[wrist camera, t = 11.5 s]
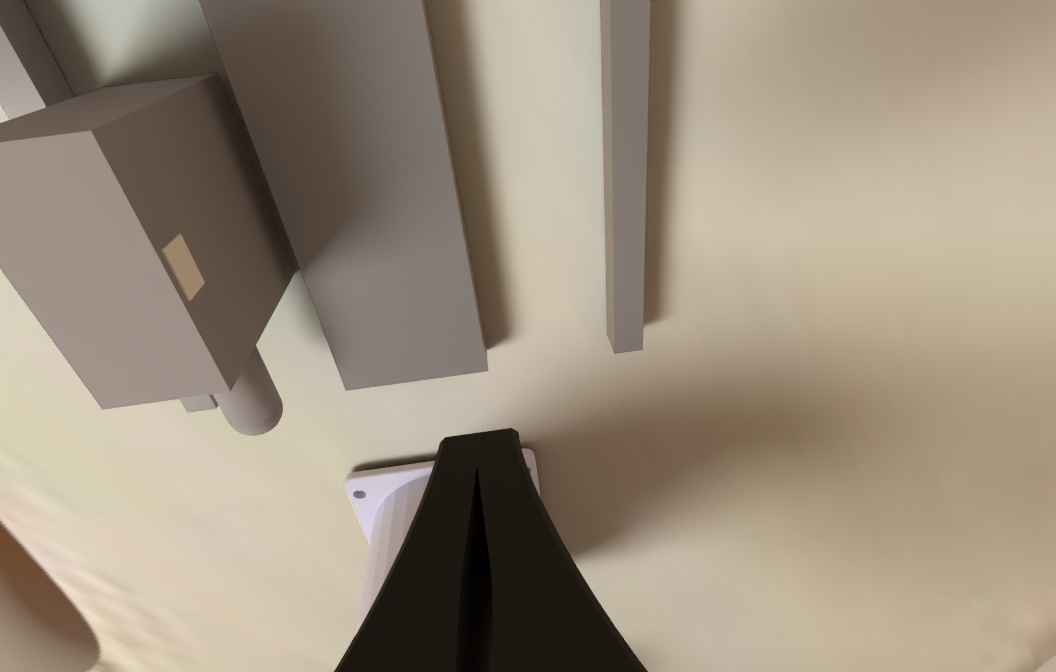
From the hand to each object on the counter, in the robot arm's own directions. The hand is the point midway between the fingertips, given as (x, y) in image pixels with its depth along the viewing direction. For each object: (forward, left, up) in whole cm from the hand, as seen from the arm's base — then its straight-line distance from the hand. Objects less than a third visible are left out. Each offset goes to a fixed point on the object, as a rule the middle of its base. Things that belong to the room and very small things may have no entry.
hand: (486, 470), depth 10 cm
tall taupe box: (+1, +8, -10) cm, 12 cm away
